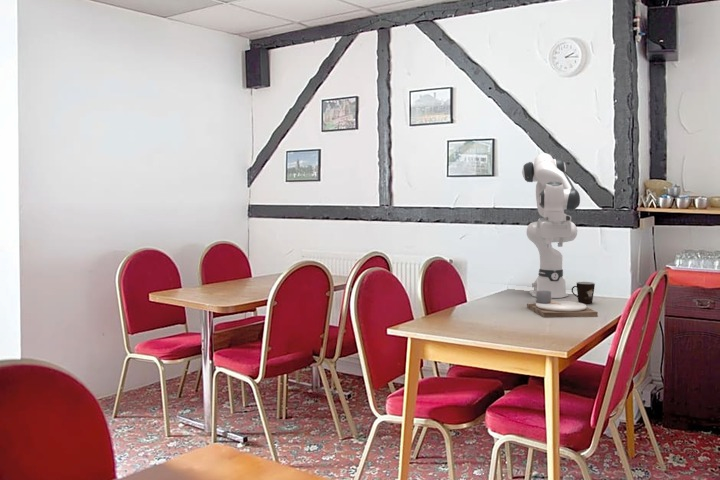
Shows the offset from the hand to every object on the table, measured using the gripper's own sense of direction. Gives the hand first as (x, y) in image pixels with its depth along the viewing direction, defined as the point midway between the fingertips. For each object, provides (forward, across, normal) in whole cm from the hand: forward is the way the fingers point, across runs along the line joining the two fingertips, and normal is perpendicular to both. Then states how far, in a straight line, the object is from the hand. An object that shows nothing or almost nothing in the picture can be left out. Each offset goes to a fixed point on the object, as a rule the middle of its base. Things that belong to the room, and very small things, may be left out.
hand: (553, 247), depth 327 cm
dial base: (+29, -4, -9) cm, 30 cm away
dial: (+26, -4, -8) cm, 28 cm away
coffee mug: (+29, +24, +2) cm, 38 cm away
